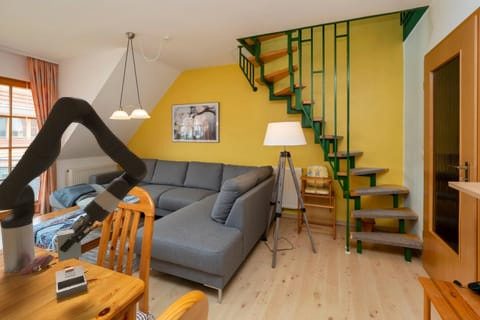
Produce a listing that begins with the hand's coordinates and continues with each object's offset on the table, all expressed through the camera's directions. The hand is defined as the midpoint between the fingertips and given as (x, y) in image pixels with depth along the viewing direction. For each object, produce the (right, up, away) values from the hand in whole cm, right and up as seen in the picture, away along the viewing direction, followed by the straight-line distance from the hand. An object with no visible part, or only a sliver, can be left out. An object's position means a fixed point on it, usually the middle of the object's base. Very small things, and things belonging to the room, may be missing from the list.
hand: (62, 247), depth 78 cm
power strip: (-1, -15, +5) cm, 16 cm away
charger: (+1, -3, +2) cm, 4 cm away
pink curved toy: (-21, -15, +16) cm, 30 cm away
